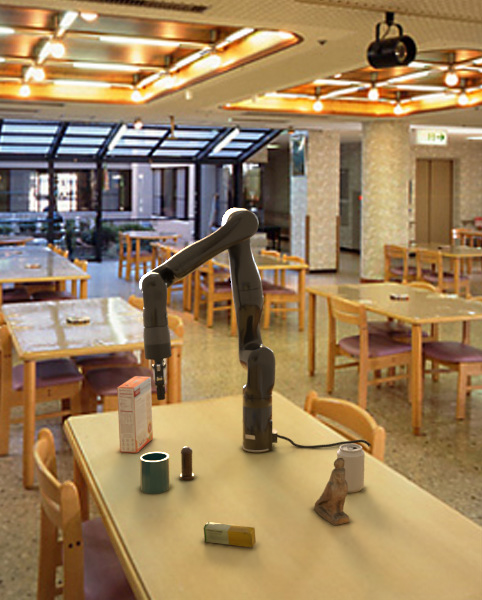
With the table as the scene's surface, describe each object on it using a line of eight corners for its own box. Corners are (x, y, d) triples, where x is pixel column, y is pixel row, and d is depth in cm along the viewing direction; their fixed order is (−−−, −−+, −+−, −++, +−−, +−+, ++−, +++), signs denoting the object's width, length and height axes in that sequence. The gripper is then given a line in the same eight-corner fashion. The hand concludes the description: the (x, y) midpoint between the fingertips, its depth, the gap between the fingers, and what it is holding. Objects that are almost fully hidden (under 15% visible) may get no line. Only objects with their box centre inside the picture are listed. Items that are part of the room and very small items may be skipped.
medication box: (203, 542, 183) (202, 527, 182) (208, 536, 186) (207, 521, 185) (252, 548, 180) (251, 532, 179) (256, 542, 183) (255, 526, 182)
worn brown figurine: (349, 531, 196) (358, 468, 190) (329, 534, 194) (337, 471, 188) (331, 504, 206) (339, 443, 200) (311, 507, 204) (319, 445, 198)
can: (368, 486, 219) (368, 444, 217) (357, 495, 212) (358, 452, 210) (343, 481, 222) (344, 440, 220) (331, 490, 215) (332, 448, 213)
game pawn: (194, 475, 225) (194, 444, 224) (193, 480, 221) (193, 449, 220) (180, 475, 225) (179, 444, 223) (179, 481, 221) (178, 449, 219)
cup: (170, 482, 219) (170, 451, 218) (167, 493, 212) (167, 461, 210) (142, 483, 218) (142, 452, 217) (139, 494, 211) (138, 462, 210)
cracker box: (135, 438, 257) (134, 375, 254) (153, 439, 256) (152, 376, 253) (118, 452, 243) (116, 386, 240) (136, 453, 242) (135, 387, 239)
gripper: (170, 342, 222) (174, 400, 223) (170, 338, 236) (174, 392, 237) (143, 345, 220) (147, 402, 221) (144, 340, 234) (149, 395, 235)
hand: (161, 397), depth 229 cm, fingers open, 8 cm apart
